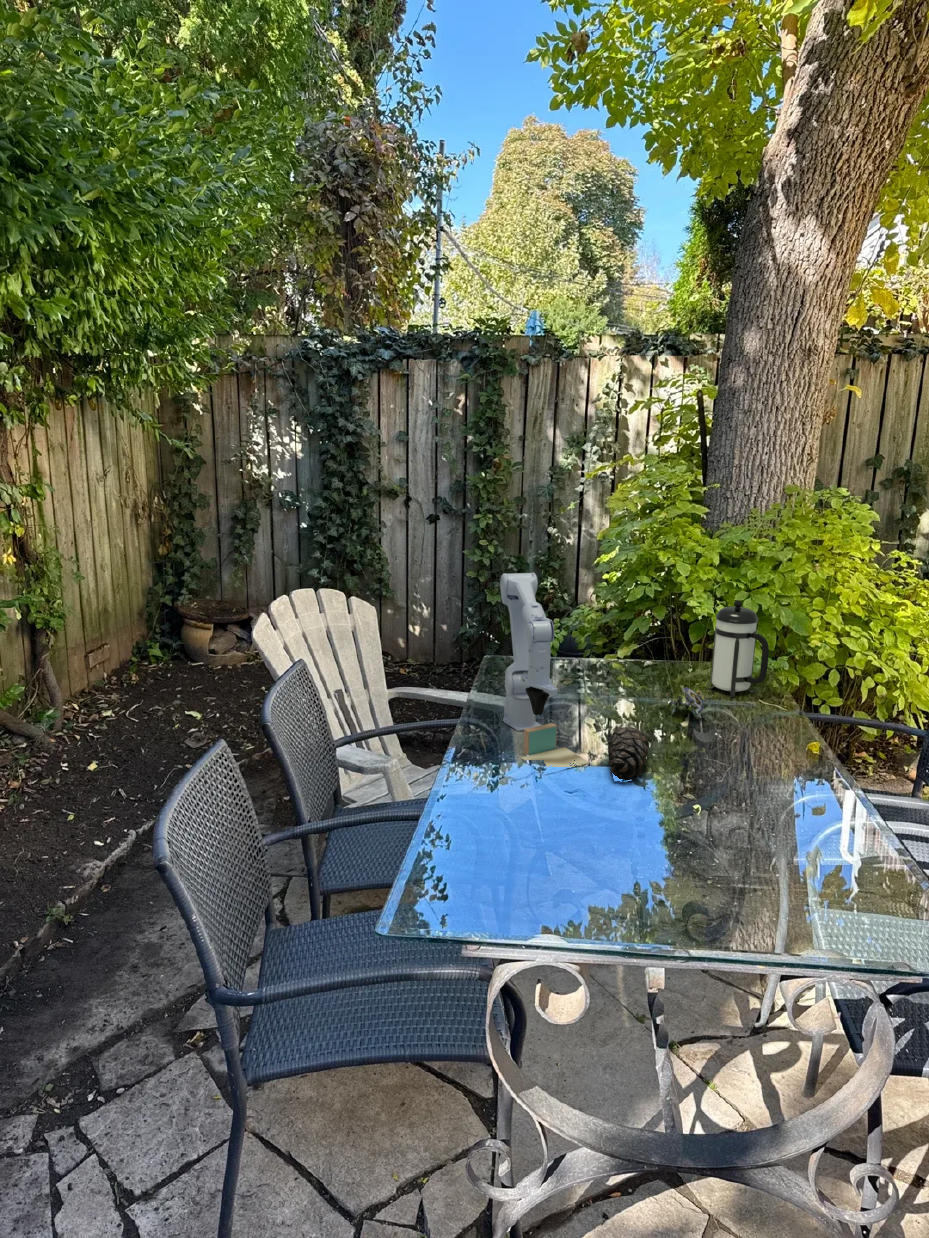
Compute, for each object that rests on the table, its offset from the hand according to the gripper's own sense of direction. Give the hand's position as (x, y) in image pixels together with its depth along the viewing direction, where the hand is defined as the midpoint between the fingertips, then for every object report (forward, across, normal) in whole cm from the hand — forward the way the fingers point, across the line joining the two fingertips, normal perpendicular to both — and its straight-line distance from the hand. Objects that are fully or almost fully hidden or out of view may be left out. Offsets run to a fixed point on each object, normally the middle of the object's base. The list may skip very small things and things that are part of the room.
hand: (537, 713), depth 211 cm
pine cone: (+10, -23, -12) cm, 28 cm away
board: (+10, -10, +1) cm, 14 cm away
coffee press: (+10, +6, -81) cm, 82 cm away
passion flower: (+10, -3, -51) cm, 52 cm away
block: (+10, -3, +1) cm, 10 cm away
